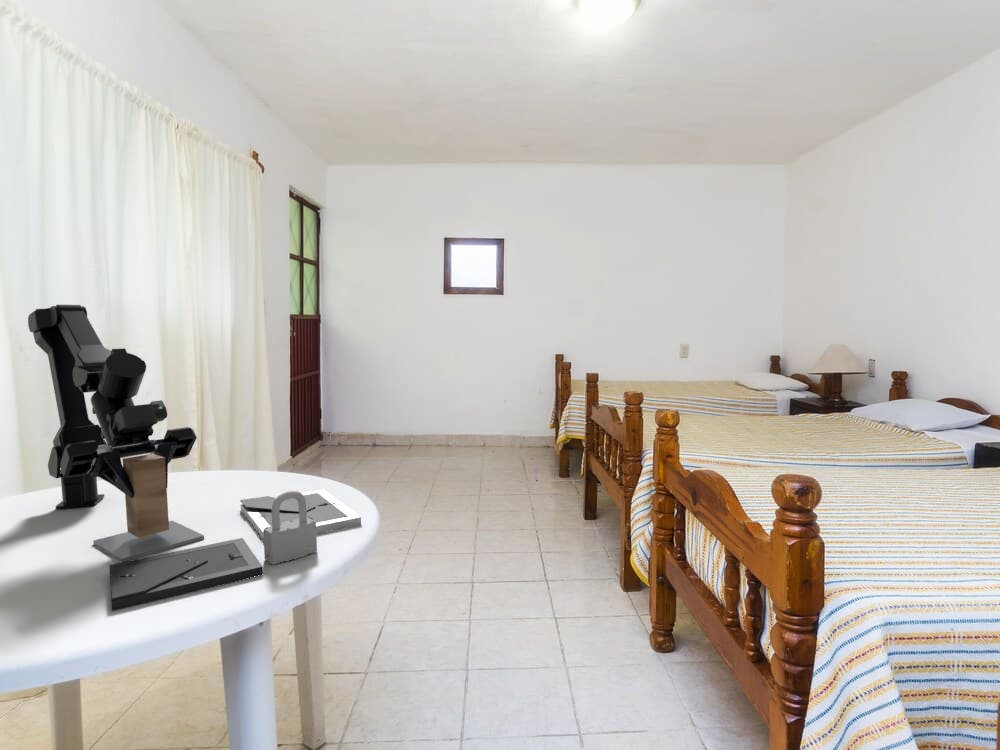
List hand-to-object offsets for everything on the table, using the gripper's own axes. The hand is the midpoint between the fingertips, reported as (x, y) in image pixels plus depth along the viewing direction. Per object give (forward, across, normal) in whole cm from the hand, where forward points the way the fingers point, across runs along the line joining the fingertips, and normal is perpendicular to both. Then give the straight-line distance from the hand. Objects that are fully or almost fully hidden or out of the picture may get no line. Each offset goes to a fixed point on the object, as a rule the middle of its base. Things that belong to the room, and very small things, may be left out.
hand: (149, 492), depth 94 cm
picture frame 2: (+12, +22, +1) cm, 25 cm away
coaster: (+5, 0, +7) cm, 8 cm away
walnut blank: (+4, 0, +6) cm, 7 cm away
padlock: (+22, +11, -10) cm, 26 cm away
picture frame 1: (+18, -2, -5) cm, 19 cm away
